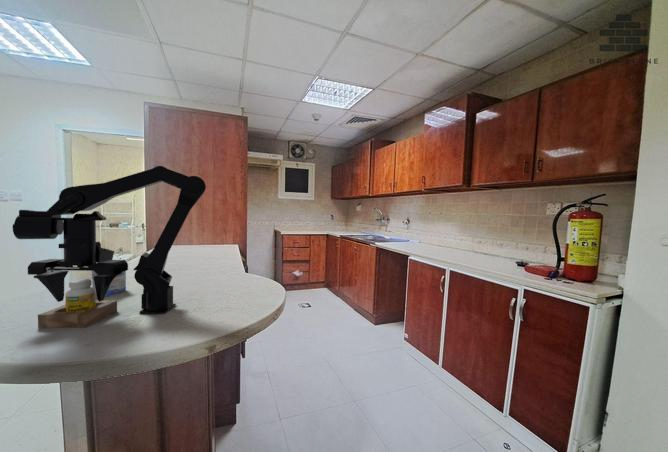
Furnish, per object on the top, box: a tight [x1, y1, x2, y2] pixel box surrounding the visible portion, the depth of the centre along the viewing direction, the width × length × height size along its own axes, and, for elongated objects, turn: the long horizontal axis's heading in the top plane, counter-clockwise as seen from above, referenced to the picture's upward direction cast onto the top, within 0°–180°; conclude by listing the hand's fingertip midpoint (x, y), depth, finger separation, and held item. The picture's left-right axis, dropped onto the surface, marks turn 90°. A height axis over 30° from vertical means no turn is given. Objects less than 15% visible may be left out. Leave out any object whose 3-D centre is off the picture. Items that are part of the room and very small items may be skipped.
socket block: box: [37, 299, 118, 329], centre depth 65 cm, size 10×10×3 cm
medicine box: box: [91, 271, 127, 298], centre depth 85 cm, size 8×4×9 cm, turn 179°
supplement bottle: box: [64, 278, 97, 312], centre depth 65 cm, size 5×5×10 cm
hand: (80, 301), depth 65 cm, fingers open, 9 cm apart
